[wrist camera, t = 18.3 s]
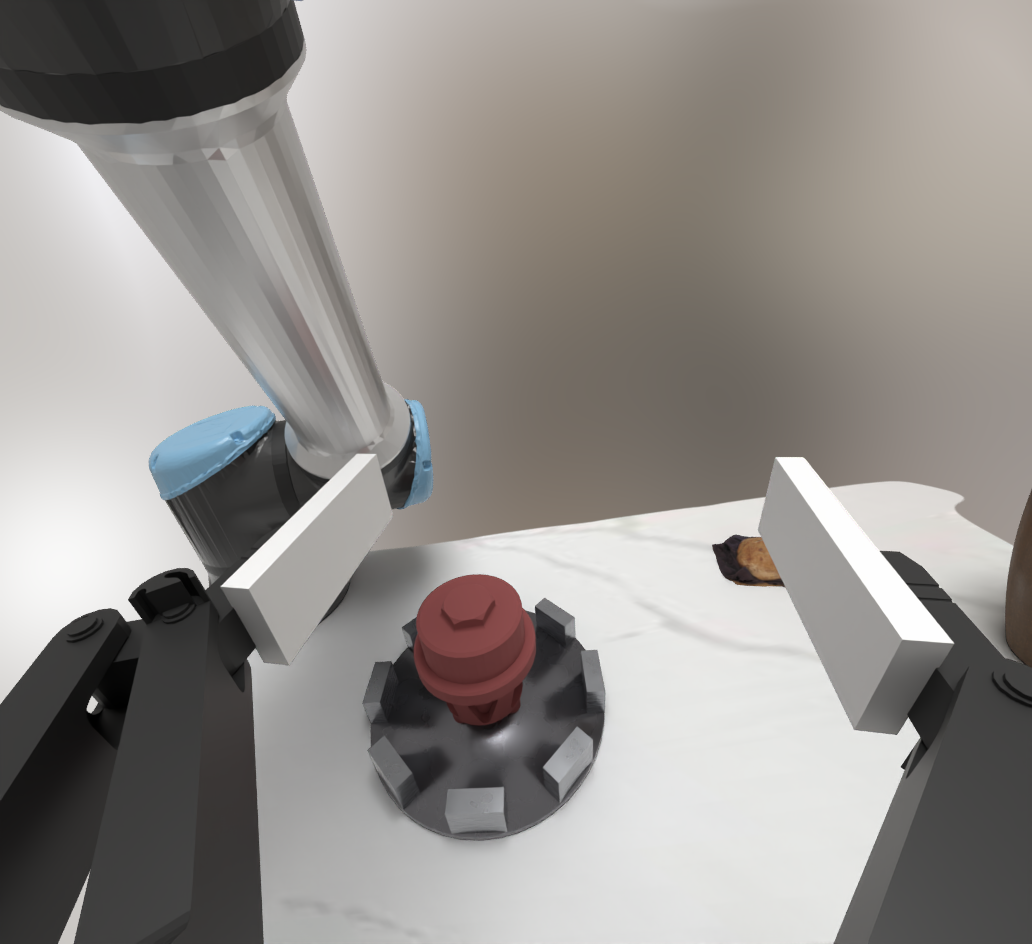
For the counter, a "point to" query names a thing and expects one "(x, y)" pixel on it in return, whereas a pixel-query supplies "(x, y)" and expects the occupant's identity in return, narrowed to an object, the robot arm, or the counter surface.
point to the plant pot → (1021, 590)
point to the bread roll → (747, 562)
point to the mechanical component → (475, 647)
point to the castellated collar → (489, 739)
